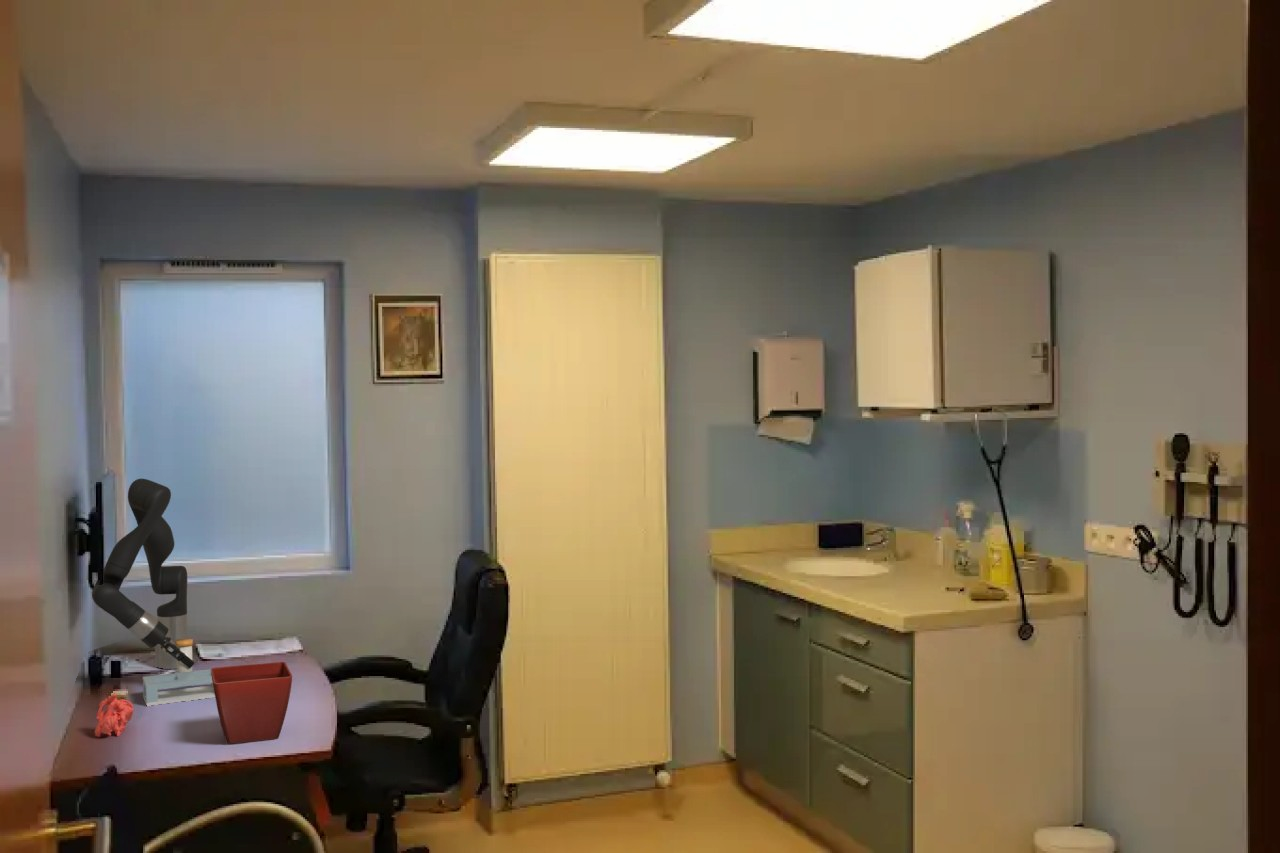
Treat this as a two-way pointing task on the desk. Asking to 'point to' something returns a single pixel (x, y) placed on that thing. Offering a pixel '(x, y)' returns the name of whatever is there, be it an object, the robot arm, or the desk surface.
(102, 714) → the anatomical heart
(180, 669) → the orange ball-topped peg
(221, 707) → the plant pot
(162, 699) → the grey hollow block
